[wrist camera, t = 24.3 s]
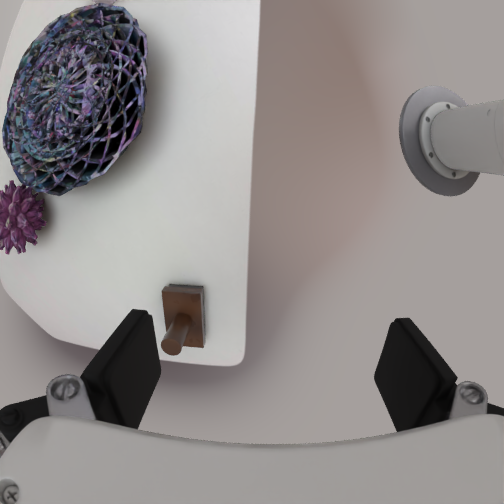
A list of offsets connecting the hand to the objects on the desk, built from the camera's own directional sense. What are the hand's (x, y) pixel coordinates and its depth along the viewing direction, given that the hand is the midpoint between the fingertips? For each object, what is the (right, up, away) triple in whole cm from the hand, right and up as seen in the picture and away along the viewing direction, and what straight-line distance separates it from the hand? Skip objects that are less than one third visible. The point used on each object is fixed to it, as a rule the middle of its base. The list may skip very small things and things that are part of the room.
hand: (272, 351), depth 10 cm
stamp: (-10, -5, +31) cm, 33 cm away
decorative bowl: (-25, +26, +22) cm, 42 cm away
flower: (-38, +11, +27) cm, 48 cm away
